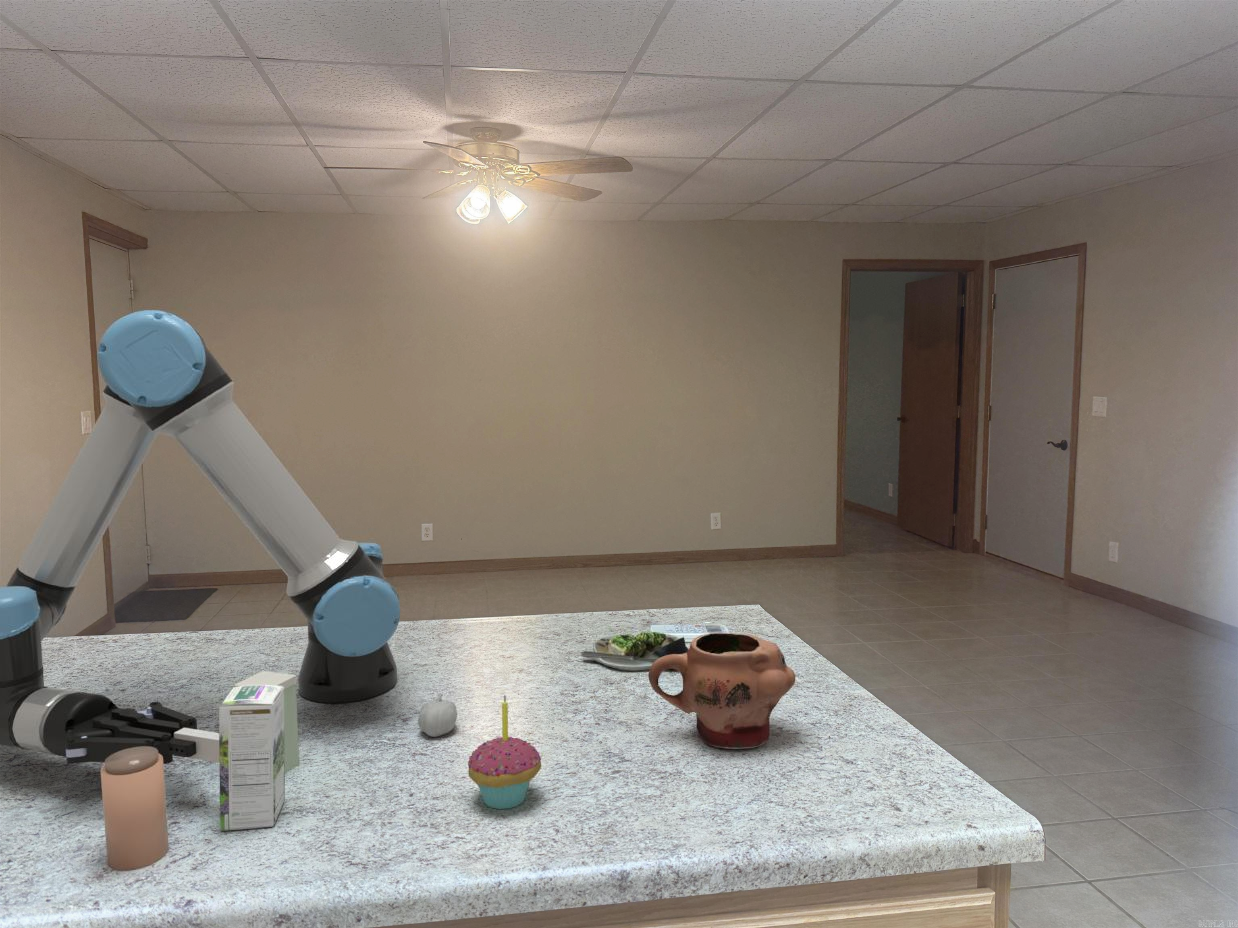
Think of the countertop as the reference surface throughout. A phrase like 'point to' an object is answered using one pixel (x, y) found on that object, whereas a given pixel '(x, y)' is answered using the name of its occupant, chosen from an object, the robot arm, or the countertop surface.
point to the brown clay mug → (728, 686)
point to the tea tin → (289, 710)
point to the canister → (134, 808)
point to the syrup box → (251, 757)
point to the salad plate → (635, 650)
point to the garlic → (437, 717)
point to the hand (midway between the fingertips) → (224, 748)
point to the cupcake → (504, 767)
